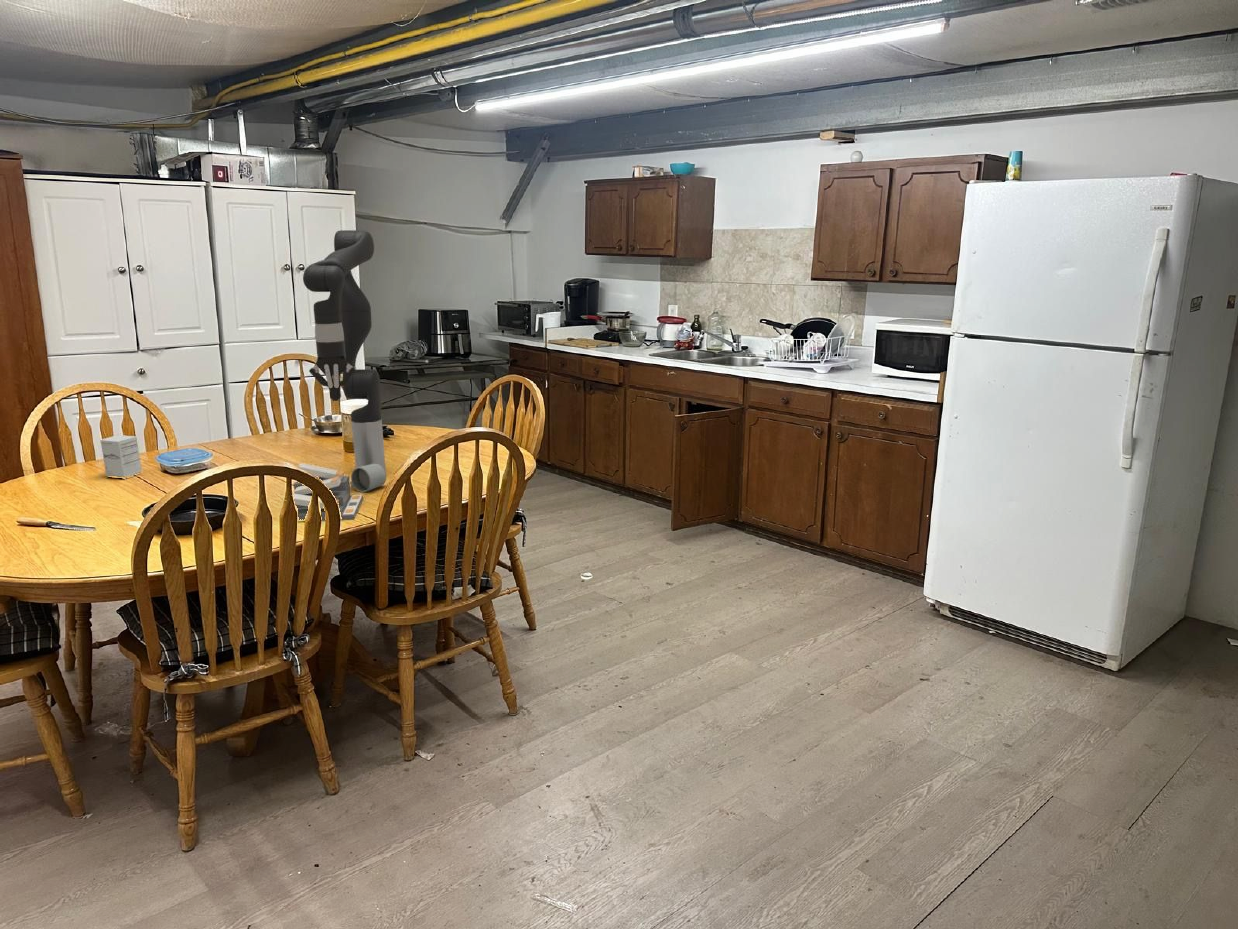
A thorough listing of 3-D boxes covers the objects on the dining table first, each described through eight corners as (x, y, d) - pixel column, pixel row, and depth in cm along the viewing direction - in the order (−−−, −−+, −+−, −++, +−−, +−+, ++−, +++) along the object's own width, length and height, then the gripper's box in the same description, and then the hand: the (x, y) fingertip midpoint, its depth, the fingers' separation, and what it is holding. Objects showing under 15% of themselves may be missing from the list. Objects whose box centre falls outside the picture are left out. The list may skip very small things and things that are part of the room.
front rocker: (292, 499, 233) (293, 493, 233) (338, 505, 235) (338, 499, 235) (289, 503, 229) (290, 497, 229) (335, 510, 231) (336, 504, 231)
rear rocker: (300, 468, 243) (301, 462, 243) (343, 477, 245) (344, 471, 245) (297, 472, 239) (298, 466, 239) (340, 481, 242) (341, 475, 241)
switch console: (299, 501, 247) (296, 474, 244) (363, 498, 249) (360, 471, 247) (284, 522, 229) (281, 493, 227) (354, 519, 232) (351, 490, 230)
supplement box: (105, 478, 269) (99, 439, 266) (125, 472, 276) (118, 434, 273) (124, 480, 267) (117, 441, 264) (143, 474, 274) (137, 435, 270)
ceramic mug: (389, 486, 260) (387, 462, 258) (371, 494, 253) (368, 469, 251) (362, 482, 265) (359, 458, 263) (343, 490, 258) (341, 465, 256)
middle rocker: (298, 492, 239) (296, 486, 238) (341, 481, 240) (339, 475, 239) (295, 496, 235) (293, 491, 234) (338, 485, 236) (336, 480, 235)
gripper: (356, 336, 242) (361, 397, 247) (307, 337, 240) (314, 398, 245) (352, 340, 235) (357, 402, 239) (302, 341, 233) (308, 403, 238)
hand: (335, 400), depth 242 cm, fingers closed
